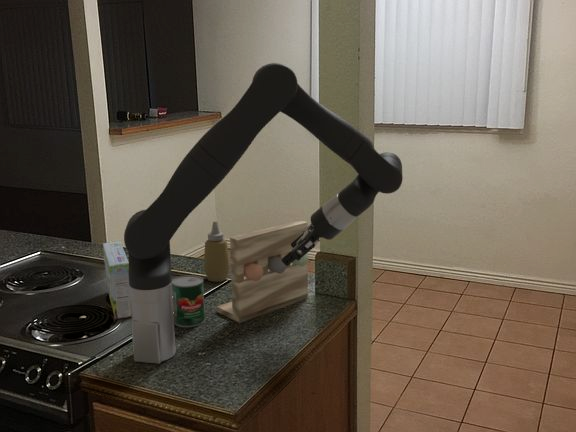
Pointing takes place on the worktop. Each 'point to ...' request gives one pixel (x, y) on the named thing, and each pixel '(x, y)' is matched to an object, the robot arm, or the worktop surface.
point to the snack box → (117, 279)
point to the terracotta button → (253, 271)
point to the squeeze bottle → (216, 256)
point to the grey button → (276, 264)
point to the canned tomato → (188, 301)
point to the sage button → (301, 260)
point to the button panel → (264, 273)
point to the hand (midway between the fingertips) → (288, 254)
